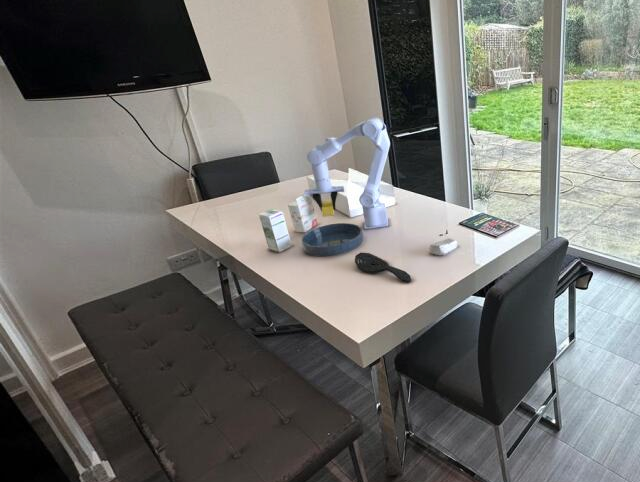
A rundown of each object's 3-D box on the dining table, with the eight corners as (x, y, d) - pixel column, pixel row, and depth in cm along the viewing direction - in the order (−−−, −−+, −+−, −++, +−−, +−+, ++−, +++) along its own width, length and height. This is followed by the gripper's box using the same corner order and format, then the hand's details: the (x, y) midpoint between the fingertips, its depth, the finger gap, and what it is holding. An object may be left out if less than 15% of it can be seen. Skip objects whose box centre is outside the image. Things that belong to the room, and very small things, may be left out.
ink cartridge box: (307, 223, 173) (300, 190, 168) (318, 224, 173) (310, 191, 167) (294, 231, 166) (285, 197, 160) (304, 232, 165) (296, 198, 159)
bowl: (363, 229, 168) (362, 220, 166) (363, 251, 149) (361, 241, 147) (307, 236, 161) (305, 227, 160) (300, 261, 143) (297, 250, 141)
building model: (310, 194, 208) (306, 176, 204) (351, 184, 223) (348, 167, 219) (351, 217, 179) (347, 197, 175) (395, 204, 194) (392, 185, 190)
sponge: (334, 209, 172) (333, 200, 170) (333, 215, 166) (332, 206, 164) (324, 210, 171) (322, 201, 169) (323, 216, 165) (321, 207, 163)
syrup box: (292, 246, 154) (283, 210, 148) (278, 252, 149) (268, 216, 143) (282, 243, 156) (272, 208, 150) (268, 250, 151) (257, 214, 145)
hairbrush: (399, 280, 125) (348, 255, 137) (400, 290, 127) (349, 265, 139) (419, 268, 132) (368, 246, 144) (419, 278, 133) (369, 255, 145)
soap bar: (451, 253, 154) (451, 238, 154) (461, 254, 150) (461, 238, 150) (428, 254, 147) (428, 238, 147) (439, 255, 143) (439, 239, 143)
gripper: (342, 173, 168) (347, 204, 173) (303, 177, 164) (310, 208, 169) (341, 178, 162) (347, 210, 167) (301, 182, 158) (308, 214, 163)
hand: (328, 209), depth 168 cm, fingers closed on sponge, 4 cm apart
